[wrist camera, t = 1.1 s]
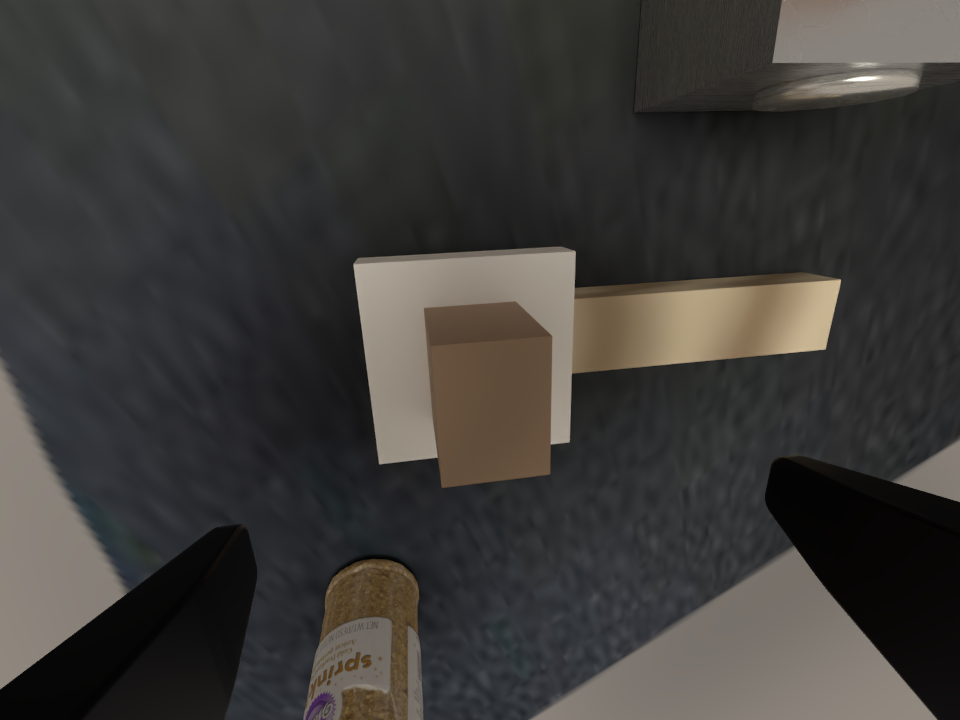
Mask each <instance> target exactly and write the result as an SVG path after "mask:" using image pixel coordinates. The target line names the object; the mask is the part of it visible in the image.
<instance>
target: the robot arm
mask: <svg viewBox="0 0 960 720" xmlns="http://www.w3.org/2000/svg"><path fill="white" fill-rule="evenodd" d="M765 502H766V505H767V508H768V510H769V511H770V513H771V514H772V515H773V517H774V518H775V520H776V521H777V522H778V524H779V525H780V527H781V528H782V529H783V531H784V532H785V533H786V535H787V536H788V538H789V539H790V540H791V542H792V543H793V545H794V546H795V547H796V549H797V550H798V551H799V553H800V554H801V556H802V557H803V558H804V560H805V561H806V563H807V564H808V565H809V567H810V568H811V569H812V571H813V572H814V573H815V575H816V576H817V578H818V579H819V580H820V581H821V583H822V584H823V586H824V587H825V588H826V589H827V591H828V592H829V593H830V594H831V595H832V597H833V598H834V599H835V600H836V601H837V603H838V604H839V605H840V606H841V607H842V608H843V609H844V611H845V612H846V613H847V614H848V616H849V617H850V618H851V619H852V620H853V621H854V623H855V624H856V625H857V626H858V627H859V628H860V630H861V631H862V632H863V633H864V634H865V635H866V637H867V638H868V639H869V640H870V641H871V642H872V644H874V646H875V647H876V648H877V650H878V651H880V653H881V654H882V655H883V657H884V658H885V659H886V660H887V661H888V662H889V664H890V665H891V666H892V667H893V668H894V669H895V671H896V672H897V673H898V674H899V675H900V677H901V678H902V679H903V680H904V681H905V682H906V683H907V685H908V686H909V687H910V688H911V689H912V691H913V692H914V693H915V694H916V695H917V696H918V698H919V699H920V700H921V701H922V702H923V703H924V705H925V706H926V707H927V708H928V709H929V711H930V712H931V713H932V714H933V715H934V716H935V718H936V719H937V720H960V502H958V501H954V500H951V499H947V498H944V497H940V496H937V495H934V494H930V493H927V492H924V491H920V490H917V489H913V488H910V487H907V486H903V485H900V484H897V483H893V482H890V481H886V480H883V479H880V478H876V477H873V476H869V475H866V474H863V473H859V472H856V471H852V470H849V469H846V468H842V467H839V466H835V465H832V464H829V463H825V462H822V461H819V460H815V459H812V458H808V457H805V456H801V455H791V456H783V457H778V458H776V459H775V460H774V461H773V462H772V464H771V468H770V473H769V478H768V483H767V487H766V492H765ZM256 582H257V566H256V562H255V557H254V553H253V549H252V545H251V541H250V537H249V533H248V530H247V529H246V527H245V526H243V525H242V524H238V525H230V526H222V527H216V528H214V529H212V530H211V531H210V532H208V533H207V534H206V535H204V536H203V537H202V538H200V539H199V540H198V541H196V542H195V543H194V544H192V545H191V546H190V547H188V548H187V549H186V550H184V551H183V552H182V553H180V554H179V555H178V556H176V557H175V558H174V559H172V560H171V561H170V562H169V563H167V564H166V565H165V566H163V567H162V568H161V569H159V570H158V571H157V572H155V573H154V574H153V575H151V576H150V577H149V578H147V579H146V580H145V581H143V582H142V583H141V584H139V585H138V586H137V587H135V588H134V589H133V590H131V591H130V592H129V593H127V594H126V595H125V596H123V597H122V598H121V599H119V600H118V601H117V602H116V603H114V604H113V605H112V606H110V607H109V608H108V609H106V610H105V611H104V612H102V613H101V614H100V615H98V616H97V617H96V618H94V619H93V620H92V621H90V622H89V623H88V624H86V625H85V626H84V627H82V628H81V629H80V630H78V631H77V632H76V633H74V634H73V635H72V636H71V637H69V638H68V639H66V640H65V641H64V642H62V643H61V644H60V645H59V646H57V647H56V648H55V649H53V650H52V651H51V652H49V653H48V654H47V655H45V656H44V657H43V658H41V659H40V660H39V661H37V662H36V663H35V664H33V665H32V666H31V667H30V668H28V669H27V670H25V671H24V672H23V673H22V674H20V675H19V676H18V677H16V678H15V679H13V680H12V681H11V682H9V683H8V684H7V685H5V686H4V687H3V688H1V689H0V720H224V719H225V715H226V712H227V709H228V706H229V703H230V699H231V696H232V692H233V689H234V685H235V681H236V677H237V672H238V668H239V663H240V658H241V654H242V649H243V644H244V639H245V635H246V630H247V625H248V620H249V616H250V611H251V606H252V601H253V596H254V592H255V587H256Z"/></svg>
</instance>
